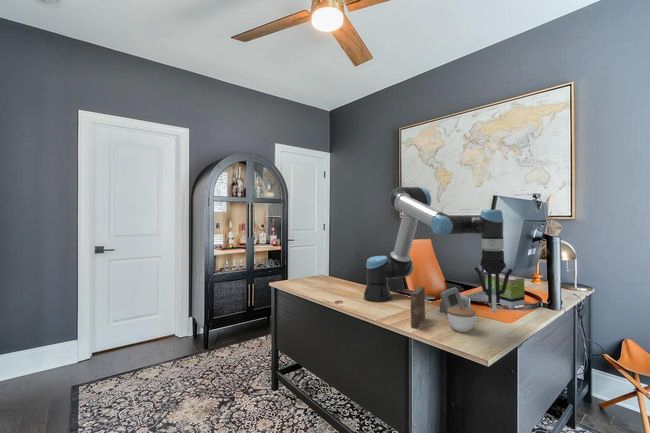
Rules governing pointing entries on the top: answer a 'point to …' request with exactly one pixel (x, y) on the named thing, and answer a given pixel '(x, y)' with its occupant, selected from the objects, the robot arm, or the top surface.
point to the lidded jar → (461, 318)
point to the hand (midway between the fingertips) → (494, 311)
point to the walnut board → (417, 306)
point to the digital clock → (450, 299)
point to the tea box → (509, 290)
